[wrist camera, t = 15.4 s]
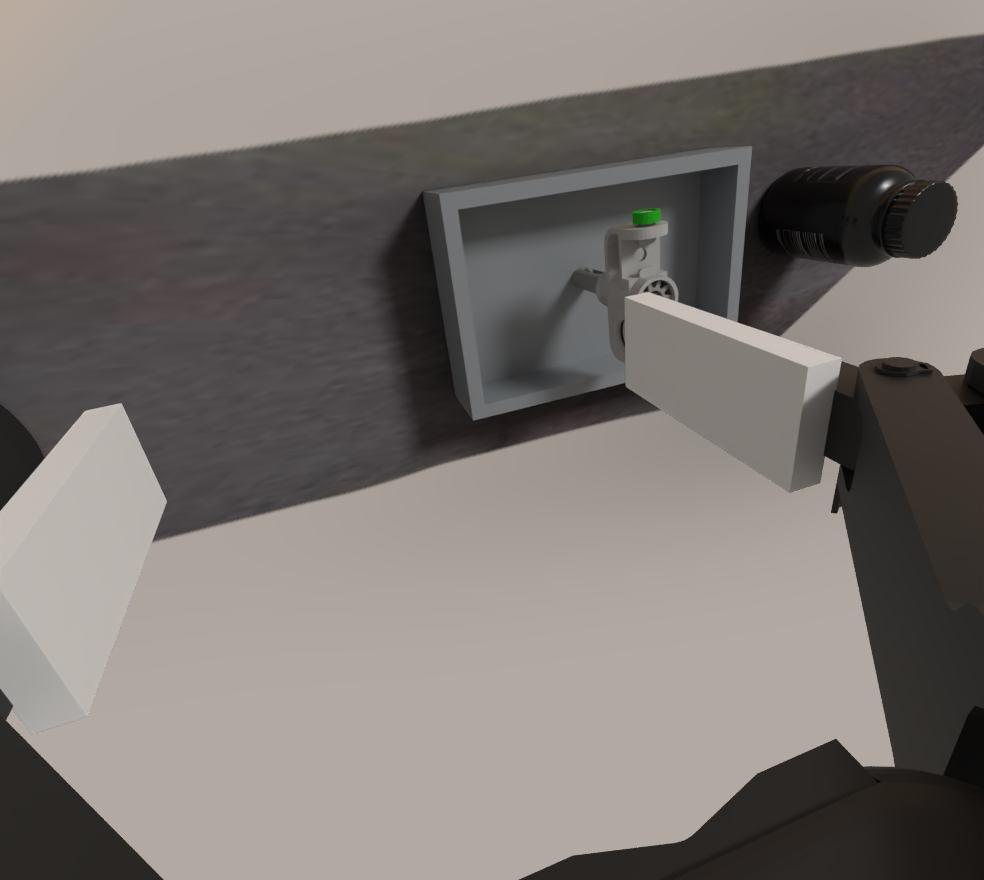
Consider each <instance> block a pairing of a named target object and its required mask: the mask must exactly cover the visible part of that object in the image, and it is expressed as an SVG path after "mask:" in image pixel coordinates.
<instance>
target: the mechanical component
mask: <svg viewBox="0 0 984 880" xmlns="http://www.w3.org/2000/svg"><path fill="white" fill-rule="evenodd" d="M632 219H633V223H632V224H627V225H622V226H618V227H613V228H610V229H609V230H608V231H607V232H606V235H605V239H604V252H605V270H606V271H604V272H602V271H598V270H595V269H591V268H587V269H586V271H585V270H583V268H579V269H577V270H576V271H574V273H573V276H572V281H573V284H574V285H575V286H576V287H578V288H581V289H584V290H587V291H589V292H592V293H595V294H596V295H597V298H598V300H599V301H600V302H601V303H602V304H603V305H605V306H608V324H609V340H610V346H611V349H612V352H613V354H614V356H615V357H616V358H617V359H618V360H619V361H621V362H623V363H625V297H628V296H632V295H637V294H642V293H646V292H650V293H653V294H655V295H658V296H661V297H664V298H667V299H670V300H673V301H676V302H678V289H677V286H676V284H675V283H674V281H673V280H672V279H671V278H668V277H667V271H664V270H660V236H664V235H666V234H668V222H667V221H661V212H660V208H650V209H642V210H637V211H634V212H632Z"/></svg>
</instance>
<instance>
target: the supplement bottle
mask: <svg viewBox="0 0 984 880" xmlns="http://www.w3.org/2000/svg"><path fill="white" fill-rule="evenodd" d="M957 206H958V202H957V196H956V192H955V191H954V189H953V187H952V186H950V184H949V183H946V182H944V181H926V180H917V178H916V177H915V176H914V175H913V174H912V173H911V172H910V171H909V170H907V169H905V168H903V167H901V166H897V165H864V166H828V167H804V168H797V169H794V170H792V171H790V172H788V173H786V174H784V175H783V176H782V177H781V178H779V179H778V180H777V181H776V182H775V183H774V185H773V186H772V187H771V188H770V190H769V191H768V193H767V195H766V197H765V199H764V201H763V204H762V207H761V211H760V217H759V228H760V233H761V237H762V239H763V241H764V243H765V245H766V246H767V247H768V248H769V249H770V250H771V251H773V252H774V253H776V254H779V255H784V256H789V257H795V258H802V259H809V260H815V261H822V262H829V263H836V264H842V265H849V266H856V267H870V266H875V265H878V264H881V263H883V262H885V261H887V260H889V259H890V258H892V257H895V258H901V257H903V258H912V259H913V258H916V259H917V258H921V257H926V256H927V255H930V254H931V253H932V252H933V251H936V250H937V248H938V247H939V246H941V245H942V243H943V241H945V240H946V238H947V236H948V234H949V233H950V231H951V228H952V227H953V225H954V221H955V219H956V214H957Z"/></svg>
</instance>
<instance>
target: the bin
mask: <svg viewBox="0 0 984 880" xmlns="http://www.w3.org/2000/svg"><path fill="white" fill-rule="evenodd" d="M751 154H752V146H745V147H726V148H706V149H699V150H692V151H686V152H679V153H673V154H666V155H659V156H653V157H646V158H640V159H633V160H626V161H620V162H613V163H607V164H600V165H593V166H587V167H580V168H574V169H567V170H560V171H554V172H547V173H541V174H534V175H527V176H521V177H514V178H508V179H501V180H494V181H488V182H481V183H474V184H468V185H461V186H455V187H448V188H441V189H435V190H428V191H422V193H423V199H424V205H425V212H426V218H427V224H428V230H429V236H430V242H431V248H432V255H433V261H434V267H435V273H436V279H437V285H438V291H439V298H440V304H441V310H442V316H443V322H444V328H445V335H446V341H447V347H448V353H449V359H450V365H451V371H452V378H453V384H454V390H455V396H456V398H457V399H458V401H459V402H460V403H461V405H462V406H463V407H464V409H465V410H466V412H467V413H468V414H469V416H470V417H471V418H472V420H473V421H474V420H478V419H482V418H486V417H490V416H494V415H498V414H502V413H506V412H510V411H514V410H518V409H522V408H526V407H530V406H534V405H538V404H542V403H546V402H550V401H554V400H559V399H563V398H567V397H571V396H575V395H579V394H583V393H587V392H591V391H595V390H599V389H603V388H607V387H611V386H615V385H619V384H623V383H626V378H625V363H623V362H621V361H619V360H618V359H617V358H616V357H615V356H614V354H613V352H612V349H611V346H610V340H609V324H608V306H605V305H603V304H602V303H601V302H600V301H599V300H598V298H597V295H596V294H595V293H592V292H589V291H587V290H584V289H581V288H578V287H576V286H575V285H574V284H573V281H572V276H573V273H574V271H576V270H577V269H579V268H583V270H585V271H586V269H587V268H591V269H595V270H598V271H602V272H604V271H606V270H605V252H604V239H605V235H606V232H607V231H608V230H609V229H610V228H613V227H618V226H622V225H627V224H632V223H633V219H632V212H634V211H637V210H642V209H650V208H660V212H661V221H667V222H668V234H666V235H664V236H660V270H664V271H667V277H668V278H671V279H672V280H673V281H674V283H675V284H676V286H677V289H678V302H679V303H682V304H685V305H688V306H691V307H694V308H696V309H699V310H702V311H705V312H708V313H711V314H714V315H717V316H720V317H723V318H726V319H729V320H732V321H735V322H737V323H738V311H739V299H740V287H741V274H742V262H743V250H744V238H745V226H746V214H747V202H748V190H749V178H750V166H751Z"/></svg>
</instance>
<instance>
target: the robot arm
mask: <svg viewBox="0 0 984 880" xmlns="http://www.w3.org/2000/svg"><path fill="white" fill-rule="evenodd" d="M625 378H626V387H627V388H628V389H630V390H632V391H633V392H635V393H636V394H638V395H639V396H641V397H642V398H644V399H645V400H647V401H649V402H650V403H652V404H653V405H655V406H656V407H658V408H659V409H661V410H662V411H664V412H666V413H667V414H669V415H670V416H672V417H673V418H675V419H676V420H678V421H680V422H681V423H683V424H684V425H686V426H687V427H689V428H690V429H692V430H694V431H695V432H697V433H698V434H700V435H701V436H703V437H704V438H706V439H707V440H709V441H710V442H712V443H714V444H715V445H717V446H718V447H720V448H721V449H723V450H724V451H726V452H727V453H729V454H731V455H732V456H734V457H735V458H737V459H739V460H740V461H741V462H743V463H745V464H746V465H748V466H749V467H751V468H752V469H754V470H755V471H757V472H758V473H760V474H762V475H763V476H765V477H766V478H768V479H769V480H771V481H772V482H774V483H775V484H777V485H779V486H780V487H782V488H783V489H785V490H786V491H788V492H794V491H797V490H800V489H803V488H806V487H809V486H812V485H815V484H818V483H820V481H821V475H822V469H823V464H824V458H825V456H826V457H828V458H830V459H831V460H833V461H835V462H837V463H839V464H840V468H839V473H838V479H837V484H836V489H835V495H834V500H833V505H832V510H831V513H837V512H838V509H839V507H841V506H842V509H843V514H844V519H845V523H846V529H847V533H848V538H849V543H850V548H851V553H852V558H853V563H854V567H855V572H856V577H857V582H858V587H859V592H860V597H861V601H862V606H863V611H864V616H865V621H866V626H867V630H868V635H869V640H870V645H871V650H872V655H873V659H874V664H875V669H876V674H877V679H878V684H879V689H880V693H881V698H882V703H883V708H884V713H885V718H886V723H887V728H888V732H889V737H890V741H891V747H892V752H893V757H894V764H895V767H872V766H870V767H863V766H862V765H861V764H860V763H859V762H858V761H857V760H856V759H855V758H854V757H853V756H852V755H851V754H850V753H849V752H848V751H847V750H846V749H845V748H844V747H843V746H842V745H841V744H840V743H839V742H838V741H837V739H834V740H832V741H830V742H828V743H825V744H823V745H821V746H819V747H816V748H814V749H812V750H810V751H808V752H805V753H803V754H801V755H798V756H796V757H794V758H792V759H789V760H787V761H785V762H783V763H780V764H778V765H776V766H774V767H771V768H769V769H767V770H765V771H762V772H760V773H758V774H757V775H755V777H753V778H752V779H751V780H750V781H749V782H748V783H747V784H746V785H745V786H744V787H743V788H742V789H741V790H740V791H739V792H738V793H737V794H735V796H733V797H732V798H731V799H730V800H729V801H728V802H727V803H726V804H725V805H724V806H723V807H722V808H721V809H720V810H719V811H718V812H717V813H716V814H714V816H713V817H711V818H710V819H709V820H708V821H707V822H706V823H705V824H704V825H703V826H702V827H701V828H700V829H699V830H698V831H697V832H696V833H694V834H693V835H692V836H691V837H690V838H688V839H686V840H684V841H681V842H678V843H672V844H664V845H655V846H647V847H639V848H631V849H623V850H615V851H607V852H599V853H591V854H583V855H575V856H571V857H569V858H567V859H565V860H562V861H560V862H558V863H556V864H554V865H551V866H549V867H546V868H544V869H542V870H540V871H538V872H535V873H533V874H531V875H529V876H526V877H524V878H522V879H519V880H984V348H981V349H978V350H975V351H973V352H972V354H971V356H970V359H969V363H968V366H967V370H966V373H965V374H964V375H953V376H943V375H942V373H941V372H940V371H939V370H938V369H936V368H935V367H934V366H931V365H930V364H928V363H923V362H918V361H914V360H912V359H908V358H900V357H892V358H883V359H874V360H869V361H866V362H864V363H862V364H860V365H859V367H856V366H854V365H850V364H848V363H845V362H842V358H840V357H837V356H834V355H831V354H828V353H825V352H822V351H819V350H816V349H814V348H810V347H808V346H805V345H802V344H799V343H796V342H793V341H790V340H787V339H784V338H781V337H778V336H776V335H773V334H770V333H767V332H764V331H761V330H758V329H755V328H752V327H749V326H746V325H743V324H740V323H737V322H735V321H732V320H729V319H726V318H723V317H720V316H717V315H714V314H711V313H708V312H705V311H702V310H699V309H696V308H694V307H691V306H688V305H685V304H682V303H679V302H676V301H673V300H670V299H667V298H664V297H661V296H658V295H655V294H653V293H650V292H646V293H642V294H637V295H632V296H628V297H625ZM166 502H167V501H166V498H165V496H164V494H163V492H162V490H161V488H160V485H159V483H158V481H157V479H156V477H155V475H154V473H153V470H152V468H151V466H150V464H149V462H148V460H147V457H146V455H145V453H144V451H143V449H142V447H141V444H140V442H139V440H138V438H137V436H136V434H135V431H134V429H133V427H132V425H131V423H130V421H129V418H128V416H127V414H126V412H125V410H124V408H123V406H122V403H120V404H115V405H111V406H106V407H101V408H96V409H92V410H87V411H85V412H84V413H83V414H82V415H81V416H80V418H79V419H78V420H77V421H76V422H75V423H74V425H73V426H72V427H71V428H70V429H69V431H68V432H67V433H66V434H65V435H64V436H63V438H62V439H61V440H60V441H59V442H58V444H57V445H56V446H55V447H54V448H53V450H52V451H51V452H50V453H49V454H48V455H47V457H46V458H45V459H44V456H43V454H42V452H41V450H40V448H39V447H38V445H37V443H36V441H35V440H34V439H33V437H32V436H31V434H30V433H29V432H28V431H27V429H26V428H25V427H24V426H23V425H22V424H21V423H20V421H19V420H18V419H17V418H15V417H14V416H13V415H12V414H11V413H10V412H9V411H8V410H6V409H5V408H4V407H3V406H2V405H0V880H163V879H162V878H161V877H160V876H159V875H158V874H157V873H156V872H155V871H154V870H153V869H152V868H151V867H150V866H149V865H148V864H147V863H146V862H145V861H144V859H143V858H141V856H139V855H138V853H137V852H136V851H135V850H134V849H133V848H132V847H131V846H130V845H129V844H127V842H126V841H125V840H124V839H123V838H122V837H121V836H120V835H119V834H118V833H117V832H116V831H115V830H114V829H113V828H112V827H111V826H110V825H109V824H108V823H107V822H106V821H104V819H103V818H102V817H101V816H100V815H99V814H98V813H97V812H96V811H95V810H94V809H93V808H92V807H91V806H90V805H89V804H88V803H87V802H86V801H85V800H84V799H83V798H82V797H81V796H80V795H79V794H78V793H77V792H76V791H75V790H74V789H73V788H72V787H71V786H70V785H69V784H68V783H67V782H66V781H65V780H64V779H63V778H62V777H61V776H60V775H59V774H58V773H57V772H56V771H55V770H54V769H53V768H52V767H51V766H50V765H49V764H48V763H47V762H46V761H45V760H44V759H43V758H42V757H41V756H40V755H39V754H38V753H37V752H36V751H35V750H34V749H33V748H32V747H31V746H30V744H28V743H27V741H26V740H25V739H24V738H23V737H22V736H20V734H19V733H18V732H16V730H15V729H13V728H12V727H11V726H10V724H9V723H8V722H7V721H6V719H7V717H8V715H9V713H10V711H11V709H12V710H13V711H14V713H15V714H16V715H17V716H18V718H19V719H20V720H21V721H22V723H23V724H24V725H25V727H26V728H27V729H28V730H29V732H30V733H31V734H32V735H33V734H35V733H39V732H42V731H45V730H48V729H51V728H54V727H58V726H61V725H64V724H67V723H70V722H73V721H76V720H79V719H83V718H86V717H87V716H88V714H89V711H90V708H91V706H92V703H93V700H94V697H95V695H96V692H97V689H98V687H99V684H100V681H101V678H102V676H103V673H104V670H105V668H106V665H107V662H108V659H109V657H110V654H111V651H112V649H113V646H114V643H115V640H116V638H117V635H118V632H119V630H120V627H121V624H122V622H123V619H124V616H125V613H126V611H127V608H128V605H129V603H130V600H131V597H132V595H133V592H134V589H135V586H136V584H137V581H138V578H139V576H140V573H141V570H142V567H143V565H144V562H145V559H146V557H147V554H148V551H149V548H150V546H151V543H152V540H153V538H154V535H155V532H156V529H157V527H158V524H159V521H160V519H161V516H162V513H163V511H164V508H165V505H166Z"/></svg>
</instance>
